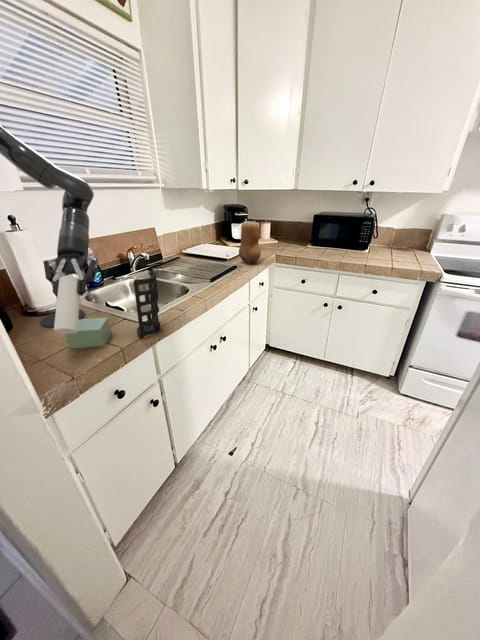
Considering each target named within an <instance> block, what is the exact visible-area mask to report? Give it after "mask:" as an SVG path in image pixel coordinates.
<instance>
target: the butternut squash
mask: <svg viewBox="0 0 480 640" xmlns="http://www.w3.org/2000/svg"><path fill="white" fill-rule="evenodd" d="M260 233H261V227H260V224H259V223H258V222H256V221H252V220H245V221H243V222H242V223H241V226H240V246H239V249H238V255H239V257H240V260H241V261H242V262H244V263H245V264H247V265H252V264H255V263H256V262H258V260H259V259H260V258H261V254H262V253H261V251H262V250H261V248H260V244H259V240H260V236H261V235H260ZM248 263H250V264H248Z"/></svg>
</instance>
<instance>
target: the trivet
mask: <svg viewBox="0 0 480 640" xmlns="http://www.w3.org/2000/svg"><path fill="white" fill-rule="evenodd" d="M55 314H56V311H55V312H51V313H50V314H47V315H46V316H44V317H43V318H42V319H41V320H40V324H41V326H42V327H45V328H53V329H54V323H55ZM84 317H85V311H84V310H82V309H79V316H78V319H84Z"/></svg>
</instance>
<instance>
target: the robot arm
mask: <svg viewBox="0 0 480 640" xmlns="http://www.w3.org/2000/svg"><path fill="white" fill-rule="evenodd" d="M0 155H1V156H2V157H3V158H4V159H6V160H7V161H8V162H9V163H10V164H12V165H13V166H14V167H15V168H17V169H18V170H19V171H21V172H22V173H23V174H25V175H26V176H28V177H29V178H31V179H32V180H33V181H35V182H36V183H38V184H40V185H41V186H43V187H44V188H46V189H48V190H52V189H53V190H54V189H55V188H57V187H58V188H59V189H62V190H64V192H63V194H62V195H63V196H62V199H61V200H62V201H61V208H62V215H61V223H60V229H59V233H58V240H57V248H56V255H57V256H56V258H55V260H54V261H48V260H44V262H43V267H44V274H45V279H46V280H47V281H48V282H49V283H51V284H52V293H53V294H54V296H56V297H57V295H58V285H59V278H60V277H62V276H71V275H77V278H79V280H80V281H78V288H77V293H78V294H79V295H80V297H81V296H84V295H85V294H86V292H87V284H88V283H89V282H94V281H95V278H96V275H97V272H98V269H99V263H98V261H97V260H95V258H93V259H91V260H90V259H88V258H89V245H90V234H89V233H90V232H89V231H90V216H89V214H88V209H89V207H90V205H91V203H92V201H93V199H94V196H95V192H94V190H93V188H92V187H91V186H90V184H89V183H88V182H87V181H86V180H84V179H82V178H80V177H79V176H77V175H75V174H72V173H71V172H68V171H67V170H64V169H62V168H60V167H58V166H56V165H55V164H54V163H52V162H51V161H50V160H48V159H47V158H45V157H44V156H43V155H41V154H40V153H39V152H37V151H36V150H35V149H34V148H32V147H30V146H29V145H28V144H27V143H25V142H24V141H22V140H20V139H19V138H18V137H16V136H15V135H13V134H12V133H10V132H9V131H8V130H6V129H5V128H4V127H3V126H1V125H0ZM56 267H57V269H56ZM86 268H87V272H86V273H85V269H86Z"/></svg>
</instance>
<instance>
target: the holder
mask: <svg viewBox="0 0 480 640" xmlns="http://www.w3.org/2000/svg"><path fill="white" fill-rule="evenodd" d="M149 272H150V274H149V275H150V276H149V277H147V278H139V279H137V278H136V279H134V280H133V288H134V289H133V291H134V297H135V305H136V313H137V320H138V327H137V328H136V335H137V336H138V337H139V338H140V339H142V338H144V337H146V336H150V335H153V334H154V333H158V332H160V330H161V322H160V320H159V313H160V308H159V305H158V301H159V290H158V288H157V287H158V286H157V282H158V279H157V273H156V272H155V271H154V270H150V271H149ZM147 284H148V287H149V288H148V289H147V290H146V289H145V290H140V287H139V286H141V285H147ZM141 296H144V301H141V298H140V297H141ZM148 305H150V309H149V310H146V311H142V307H144V306H148ZM145 316H146V320H145V321H143V317H145Z"/></svg>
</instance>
